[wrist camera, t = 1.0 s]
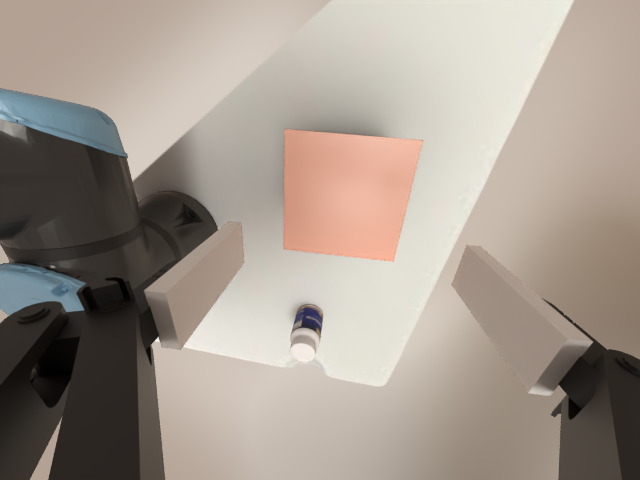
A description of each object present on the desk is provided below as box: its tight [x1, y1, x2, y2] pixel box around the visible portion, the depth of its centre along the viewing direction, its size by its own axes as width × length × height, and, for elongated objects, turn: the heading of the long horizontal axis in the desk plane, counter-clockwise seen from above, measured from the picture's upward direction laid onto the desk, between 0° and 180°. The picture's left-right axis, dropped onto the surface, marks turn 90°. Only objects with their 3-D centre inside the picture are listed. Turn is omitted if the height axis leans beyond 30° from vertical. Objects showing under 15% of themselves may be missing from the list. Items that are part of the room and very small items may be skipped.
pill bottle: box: [290, 305, 323, 362], centre depth 46 cm, size 6×6×10 cm
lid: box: [284, 129, 423, 262], centre depth 25 cm, size 13×13×2 cm
